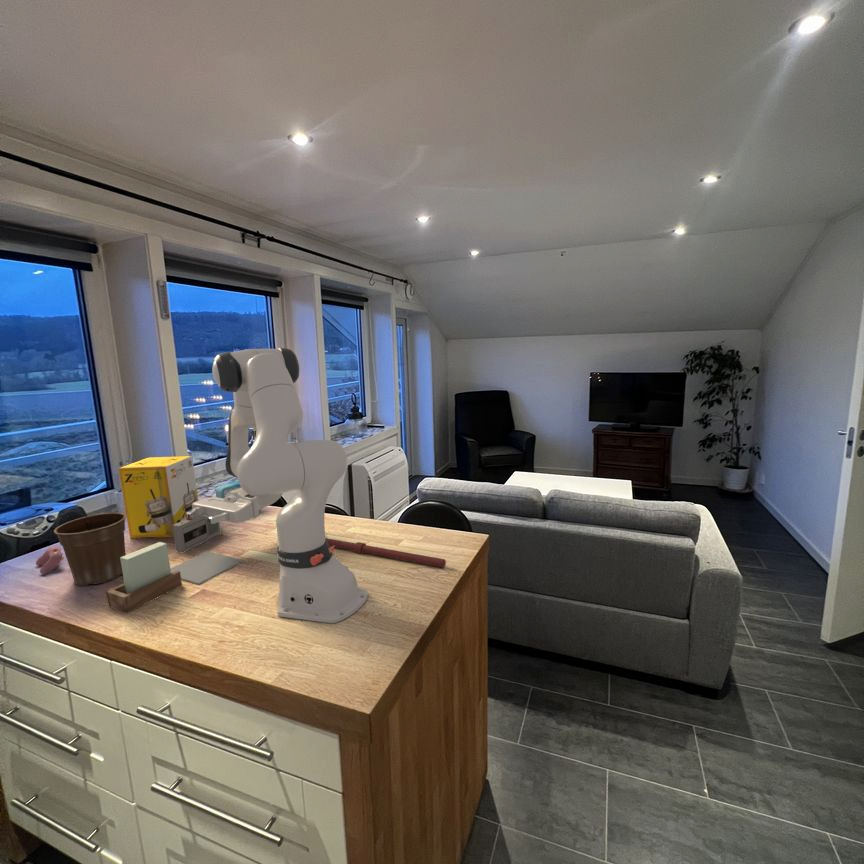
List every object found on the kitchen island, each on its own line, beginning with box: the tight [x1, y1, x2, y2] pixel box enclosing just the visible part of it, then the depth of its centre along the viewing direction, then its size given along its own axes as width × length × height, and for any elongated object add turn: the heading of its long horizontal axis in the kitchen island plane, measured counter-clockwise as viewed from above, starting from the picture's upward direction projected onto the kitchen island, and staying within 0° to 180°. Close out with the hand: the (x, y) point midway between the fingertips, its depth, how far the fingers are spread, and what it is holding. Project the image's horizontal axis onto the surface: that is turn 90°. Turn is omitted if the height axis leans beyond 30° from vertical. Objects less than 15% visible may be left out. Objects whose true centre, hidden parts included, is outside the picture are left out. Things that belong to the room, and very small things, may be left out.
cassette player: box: [172, 515, 222, 553], centre depth 149 cm, size 16×3×10 cm, turn 160°
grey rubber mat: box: [170, 551, 245, 585], centre depth 131 cm, size 16×15×1 cm
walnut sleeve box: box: [105, 571, 183, 614], centre depth 116 cm, size 8×14×4 cm, turn 154°
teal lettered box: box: [215, 480, 242, 499], centre depth 176 cm, size 12×4×12 cm, turn 144°
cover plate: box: [120, 541, 171, 594], centre depth 116 cm, size 3×10×12 cm, turn 154°
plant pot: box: [53, 512, 127, 587], centre depth 127 cm, size 16×16×16 cm
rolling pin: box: [325, 537, 447, 568], centre depth 134 cm, size 45×3×3 cm, turn 64°
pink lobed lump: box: [35, 545, 65, 575], centre depth 135 cm, size 10×5×7 cm, turn 47°
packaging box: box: [118, 455, 199, 539], centre depth 161 cm, size 16×16×25 cm
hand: (199, 518), depth 129 cm, fingers open, 8 cm apart
